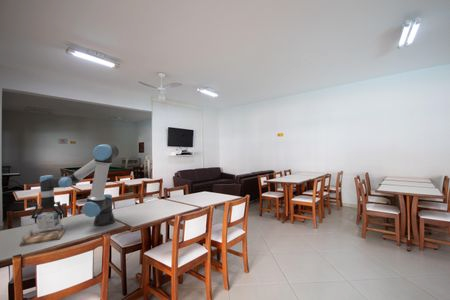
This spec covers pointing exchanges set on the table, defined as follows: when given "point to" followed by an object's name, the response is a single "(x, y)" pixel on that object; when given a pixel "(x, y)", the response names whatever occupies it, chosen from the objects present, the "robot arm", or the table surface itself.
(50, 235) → the dowel base
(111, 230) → the table surface
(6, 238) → the table surface
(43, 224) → the light bulb box
